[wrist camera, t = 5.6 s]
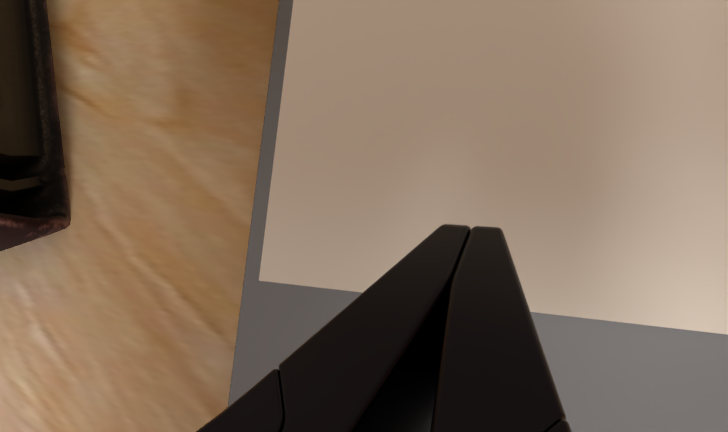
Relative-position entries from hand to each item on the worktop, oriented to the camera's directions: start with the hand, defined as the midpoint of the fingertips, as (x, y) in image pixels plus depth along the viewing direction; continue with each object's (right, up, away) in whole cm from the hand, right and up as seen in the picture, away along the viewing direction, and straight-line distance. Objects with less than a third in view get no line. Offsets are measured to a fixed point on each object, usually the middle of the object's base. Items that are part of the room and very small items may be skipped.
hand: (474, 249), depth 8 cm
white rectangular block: (+1, -2, +4) cm, 5 cm away
